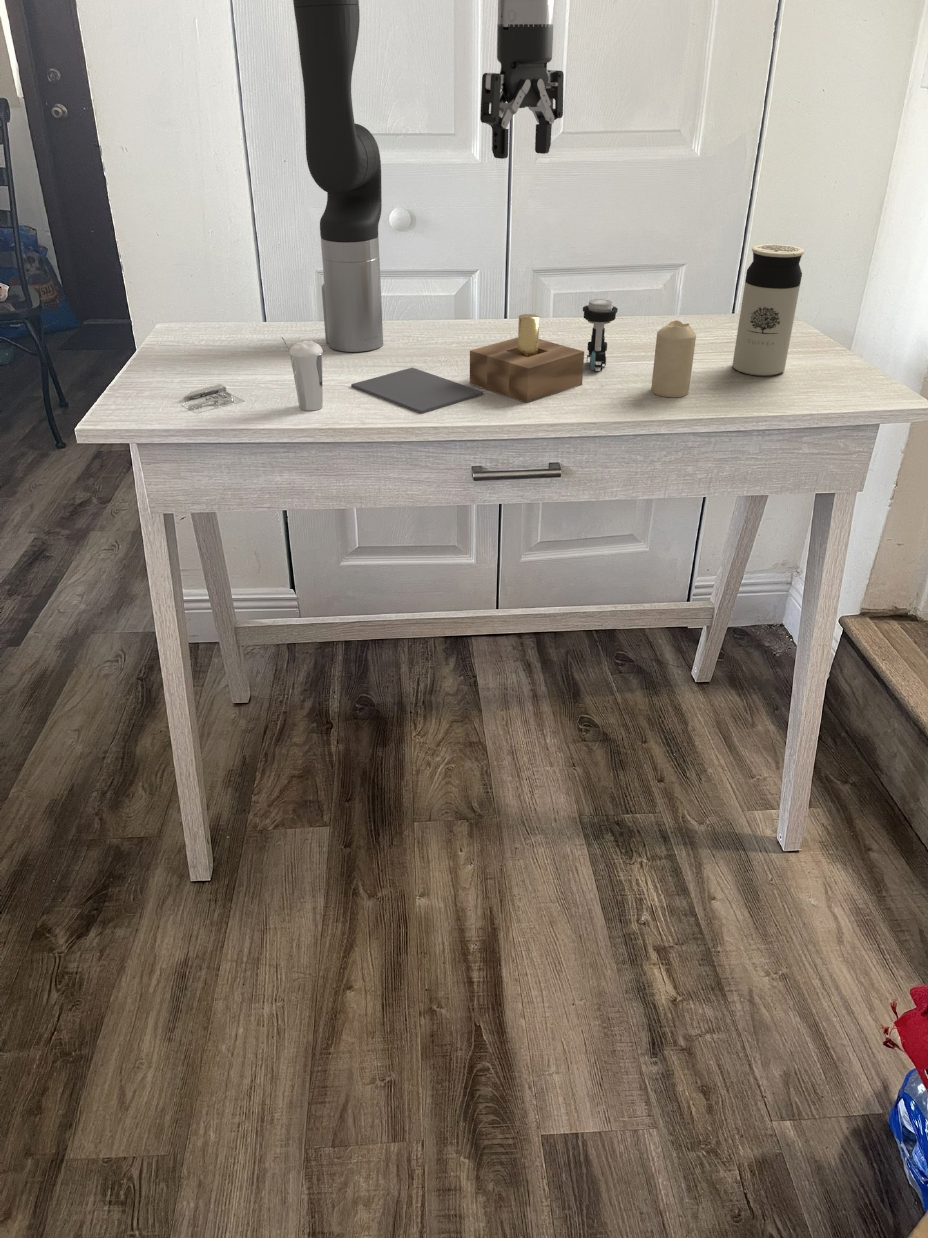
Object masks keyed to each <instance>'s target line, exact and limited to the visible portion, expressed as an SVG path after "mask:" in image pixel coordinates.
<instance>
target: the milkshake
mask: <svg viewBox="0 0 928 1238" xmlns="http://www.w3.org/2000/svg"><path fill="white" fill-rule="evenodd" d="M281 339H282V341H283V342H284V344H285V346H286V349H287V350H288V353H289V358H290V363H291V369H292V374H293V379H294V384H295V389H296V390H295V391H296V396H297V403H298V407H299V409H300V410H302V411H306V412H310V411H311V412H312V411H317V410H320V409H322V408H323V407H324V403H323V401H324V399H323V395H324V394H323V393H324V392H323V355H324V353H323V348H322V346H321V345H320V344H318V343H316V342H315V341H312V340H302V341H301V342H296V343H294V344H293V345H292V346H291V347H290V349H289V347H288V345H287V343H286V341H285V340H284V338H283V336H281Z"/></svg>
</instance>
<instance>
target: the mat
mask: <svg viewBox="0 0 928 1238" xmlns="http://www.w3.org/2000/svg"><path fill="white" fill-rule="evenodd" d="M351 388H354V389H356V390H358V391H362V392H364V393H366V394H369V395H372V396H375V397H377V398H380V399H382V400H384V401H388V402H389V403H393V404H395V405H398V406H401V407H402V408H403V407H404V408H405V409H409V410H411V411H414V412H416V413H419V414H421V415H422V414H424V413H428V412H432V411H434V410H438V409H441V408H444V407H447V406H450V405H454V404H456V403H459V402H463V401H467V400H470V399H474V398H476V397H479V396H482V395H484V391H483V390H479V389H476V388H473V387H471V386H468V385H465V384H462V383H460V382H459V383H458V382H456V381H453V380H450V379H447V378H445V377H442V376H438V375H436V374H433V373H429V372H427V371H424V370H421V369H418V368H415V367H409V368H405V369H402V370H397V371H395V372H391V373H387V374H383V375H380V376H375V377H373V378H369V379H366V380H360V381H358V382H355V383H354V382H353V383H351Z"/></svg>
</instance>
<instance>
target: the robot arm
mask: <svg viewBox="0 0 928 1238" xmlns="http://www.w3.org/2000/svg"><path fill="white" fill-rule="evenodd" d="M292 2H293V3H292V4H293V11H294V17H295V24H296V33H297V40H298V51H299V61H300V68H301V74H302V82H303V93H304V94H303V95H304V119H305V120H304V122H305V125H304V127H305V130H304V131H305V133H304V134H305V155H306V162H307V163H306V164H307V167H308V170H309V174H310V176H311V178H312V179H313V181H314V183H316V185H317V186H318V187H319V188H320V189H321V190H323V191H324V192H326V193H327V194H326V195H327V197H326V199H327V200H326V206H325V209H324V212H322V213H323V214H322V216H321V217H320V220H319V236H320V244H321V245H320V246H321V258H322V260H321V261H322V273H323V284H322V285H321V294H322V295H321V296H322V297H321V298H322V310H323V321H324V322H323V323H324V324H323V325H324V334H325V336H324V337H325V343H328V346H329V347H330V348H331V349H333V350H335V351H339V352H340V351H341V352H349V353H350V352H351V353H352V352H353V353H356V352H357V353H358V352H366V351H373V350H376V349H379V348H381V347H382V346H383V344H384V332H383V330H384V329H383V308H382V304H383V303H382V288H381V287H382V285H381V265H380V264H381V262H380V243H379V241H380V239H379V223H380V219H381V217H382V202H383V201H382V199H383V198H382V162H381V155H380V154H381V153H380V150H379V145H378V142H377V141H376V138H375V137H374V135H373V134H372V132H371V131H370V130H369V129H367V128H366V127H365V126H363V125H361V124H359V123H355V117H354V108H353V98H352V80H353V79H352V77H353V70H354V65H355V63H354V62H355V58H356V54H357V53H356V52H357V46H358V40H359V32H360V21H361V20H360V17H361V15H360V1H359V0H292ZM554 16H555V0H497V24H496V29H497V31H496V32H497V33H496V35H497V36H496V38H497V39H496V40H497V41H496V60H497V61H498V62H499V63H500V71H499V73H495V72H485V73H484V72H483V74H482V77H481V94H480V96H481V99H480V113H479V114H480V118H479V119H480V122H481V123H482V124H486V125H489V126H490V127H491V135H492V136H491V151H492V154H493V157H494V159H503V160H505V159H507V158H508V157H509V128H508V125H509V123H510V122H511V120H512V117H513V116H514V115H515V114H517V112H518V111H519V109H524V108H528V110H530V111H531V112H532V113H533V117H534V118H535V120H536V124H535V138H534V139H535V140H534V141H535V142H534V144H535V145H534V152H535V153H537V154H541V155H543V154H544V155H545V154H549V152H550V149H551V146H552V125H553V124H554V123H555V121H556V120H557V119H561V118H563V116H564V83H565V82H564V71H563V70H557V69H555V70H552V69H548V65H547V64H548V63H551V62H552V60H553V45H554V44H553V43H554V42H553V41H554V21H555V17H554ZM554 101H555V102H554ZM554 103H555V104H554Z"/></svg>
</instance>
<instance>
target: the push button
mask: <svg viewBox="0 0 928 1238" xmlns="http://www.w3.org/2000/svg"><path fill="white" fill-rule="evenodd" d="M618 311H619V310H618V307H616V306H614V305H613V301H612V300H610V299H604V298H603V299H602V298H596V299H595V298H594V299H591V300H589V301H588V305H584V306H583V307H582V312H583V319H585V321H587V322H588V323H590V324H592V325H593V327H592V329H591V330H592V331H591V338H590V341H588V342H587V349H586V350H587V351H588V354H586V362H585V363H586V364H585V365H586V366H588V358H589V364H590V370H591V371H597V372H600V371H603V365H604V367H606V365H607V355H606V352H607V351H608V342H606V340H605V339H606V337H605V331H606V328H605V325H608V324H610V323H611V322H613V321H615V320H616V318H617V317H616V316H617V314H618Z"/></svg>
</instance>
